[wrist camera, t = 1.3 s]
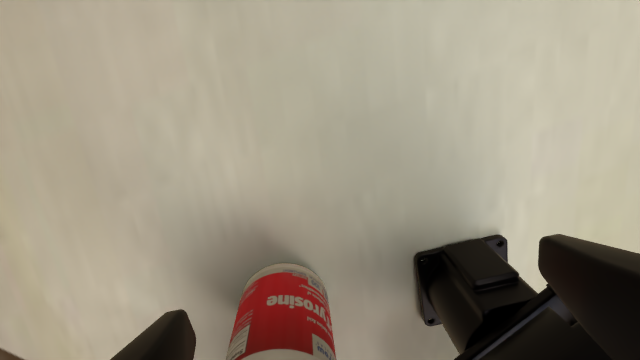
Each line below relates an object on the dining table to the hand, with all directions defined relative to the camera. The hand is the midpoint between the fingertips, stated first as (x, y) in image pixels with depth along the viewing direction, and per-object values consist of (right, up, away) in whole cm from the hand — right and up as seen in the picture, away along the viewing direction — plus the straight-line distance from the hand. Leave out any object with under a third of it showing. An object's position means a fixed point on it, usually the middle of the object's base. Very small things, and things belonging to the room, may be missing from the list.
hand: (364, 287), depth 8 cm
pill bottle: (-4, -6, +16) cm, 17 cm away
